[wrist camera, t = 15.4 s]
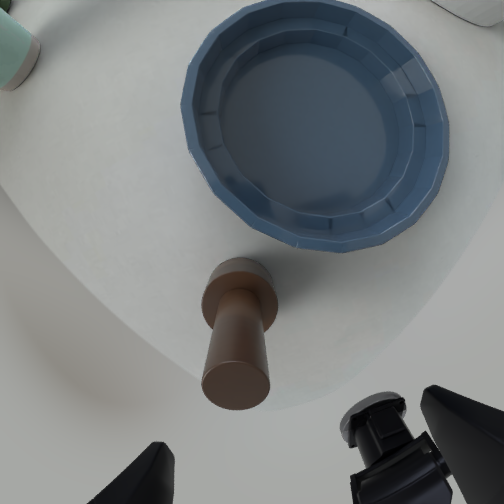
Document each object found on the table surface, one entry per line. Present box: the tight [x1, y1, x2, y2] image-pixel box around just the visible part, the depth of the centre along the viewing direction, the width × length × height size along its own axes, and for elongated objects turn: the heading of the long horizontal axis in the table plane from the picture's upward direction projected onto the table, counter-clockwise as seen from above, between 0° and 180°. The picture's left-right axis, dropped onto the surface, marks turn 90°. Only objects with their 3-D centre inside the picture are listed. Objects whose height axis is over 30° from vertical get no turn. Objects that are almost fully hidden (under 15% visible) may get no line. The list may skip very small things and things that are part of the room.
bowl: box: [181, 0, 449, 253], centre depth 14 cm, size 15×15×4 cm
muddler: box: [201, 258, 278, 410], centre depth 14 cm, size 4×4×10 cm
